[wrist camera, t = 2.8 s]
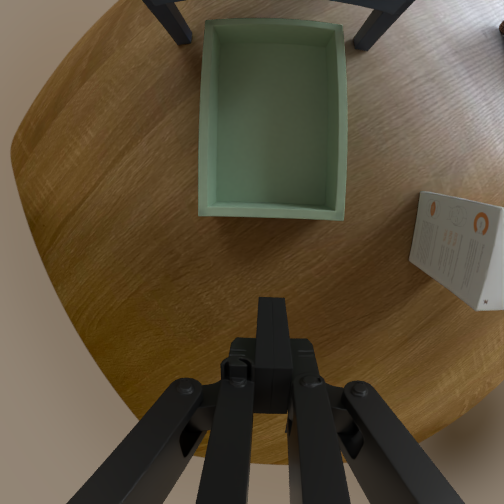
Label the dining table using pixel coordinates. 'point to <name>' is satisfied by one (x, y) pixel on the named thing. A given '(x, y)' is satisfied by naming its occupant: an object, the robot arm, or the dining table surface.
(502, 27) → the brown ceramic figurine
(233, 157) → the storage tub
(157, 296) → the dining table surface
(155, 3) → the drawer cabinet
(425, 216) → the small box
